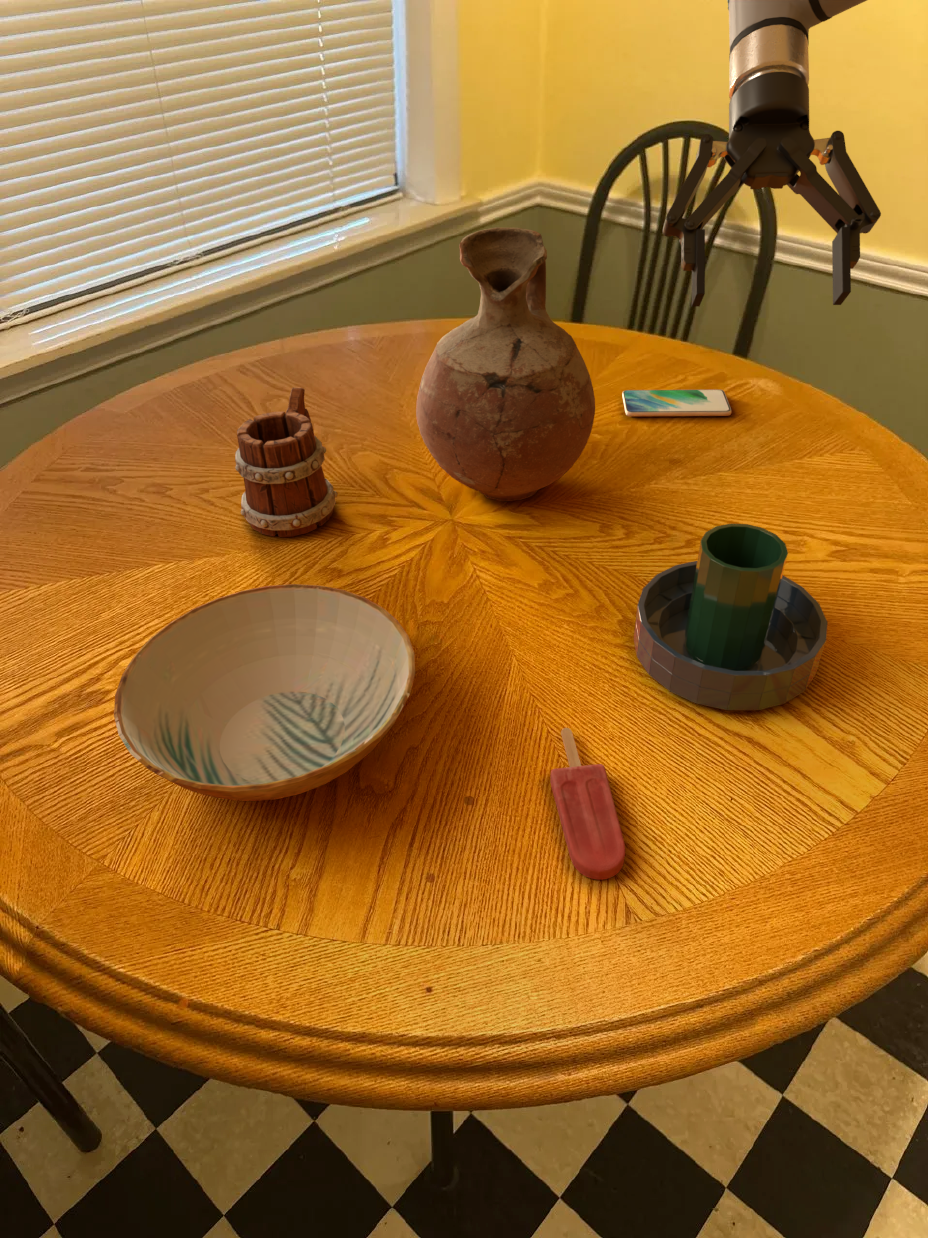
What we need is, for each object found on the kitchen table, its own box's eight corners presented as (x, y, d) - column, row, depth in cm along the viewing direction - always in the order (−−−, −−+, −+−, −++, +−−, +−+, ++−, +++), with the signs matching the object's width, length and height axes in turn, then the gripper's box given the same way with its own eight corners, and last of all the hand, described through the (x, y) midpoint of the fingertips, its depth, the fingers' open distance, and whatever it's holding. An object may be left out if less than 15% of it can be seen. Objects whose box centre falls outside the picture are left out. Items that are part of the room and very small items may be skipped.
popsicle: (590, 719, 76) (634, 865, 64) (589, 732, 77) (632, 878, 66) (540, 724, 76) (575, 872, 64) (539, 737, 77) (573, 885, 65)
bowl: (450, 662, 85) (446, 599, 80) (373, 880, 66) (361, 815, 61) (217, 632, 90) (199, 570, 85) (83, 826, 71) (50, 762, 66)
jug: (399, 516, 106) (374, 263, 87) (448, 434, 122) (437, 206, 102) (574, 538, 101) (589, 275, 82) (601, 450, 117) (620, 213, 97)
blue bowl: (754, 584, 93) (763, 546, 90) (852, 691, 80) (866, 651, 77) (606, 616, 89) (610, 578, 86) (683, 733, 77) (691, 693, 73)
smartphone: (732, 411, 122) (626, 412, 123) (731, 417, 123) (625, 417, 123) (724, 388, 127) (621, 389, 128) (723, 394, 128) (621, 394, 129)
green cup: (737, 616, 88) (759, 517, 80) (777, 663, 82) (804, 561, 75) (671, 631, 86) (686, 531, 79) (707, 680, 81) (727, 577, 73)
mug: (223, 538, 103) (204, 415, 95) (269, 495, 115) (255, 382, 107) (317, 546, 101) (305, 420, 93) (353, 501, 113) (345, 386, 105)
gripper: (883, 116, 88) (887, 315, 86) (637, 123, 90) (635, 317, 88) (915, 62, 81) (920, 278, 79) (646, 71, 83) (644, 282, 81)
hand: (769, 299), depth 84 cm, fingers open, 13 cm apart
